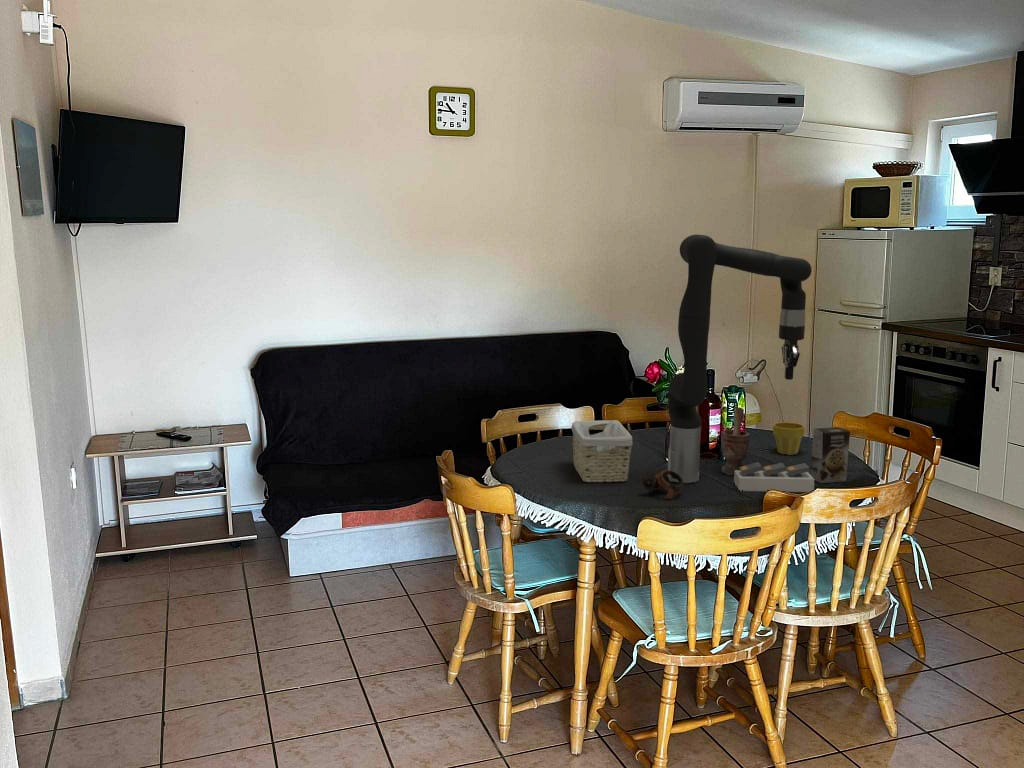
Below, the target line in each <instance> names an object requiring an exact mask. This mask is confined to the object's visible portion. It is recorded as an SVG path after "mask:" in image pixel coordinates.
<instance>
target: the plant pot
mask: <svg viewBox="0 0 1024 768" xmlns="http://www.w3.org/2000/svg"><path fill="white" fill-rule="evenodd" d="M805 427H806V426H805V425H804V424H802V423H799V422H792V421H779V422H775V423H773V425H772V434H773V435H774V438H775V442H776V443H775V444H776V450H777V453H778V452H779V454H780V453H781V454H780V455H784V454H787V455H786V456H795V455H797V454H798V453H799V449H800V445H801V441H802V440H803V439H802V438H803V437H804V435H805ZM794 454H795V455H794Z"/></svg>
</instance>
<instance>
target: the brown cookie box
mask: <svg viewBox="0 0 1024 768" xmlns="http://www.w3.org/2000/svg"><path fill="white" fill-rule="evenodd" d="M812 436H813V437H812V448H811V460H810V472H809V474H810V475H811V476H812V477H813V478H814V481H816V482H818V483H819V484H829V483H839V482H841V483H842V482H846V481H847V475H848V474H847V471H848V461H849V449H850V447H849V446H850V438H851V437H850V436H851V431H850V430H847V429H844V428H841V427H839V426H838V427H837V426H836V427H819V428H816V427H815V428H814V429H813V435H812Z"/></svg>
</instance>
